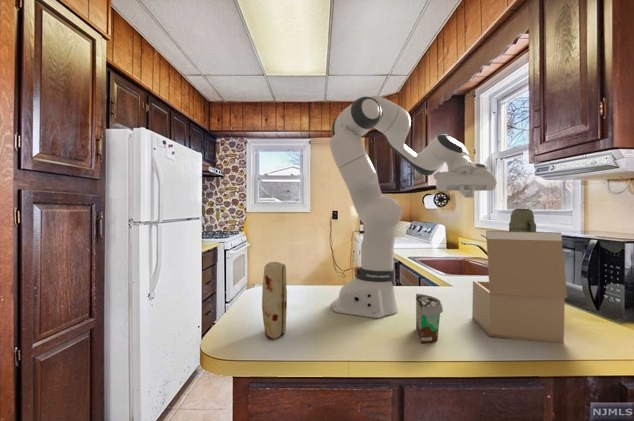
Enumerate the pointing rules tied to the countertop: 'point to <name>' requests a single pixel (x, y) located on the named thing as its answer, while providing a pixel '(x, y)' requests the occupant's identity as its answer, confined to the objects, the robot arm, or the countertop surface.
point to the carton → (518, 315)
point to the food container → (427, 318)
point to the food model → (274, 299)
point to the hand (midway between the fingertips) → (469, 196)
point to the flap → (526, 263)
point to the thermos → (522, 221)
